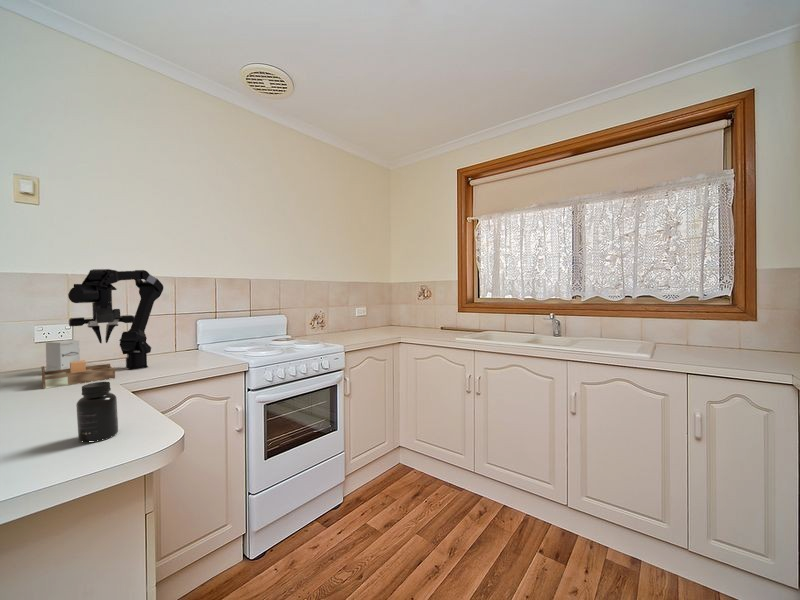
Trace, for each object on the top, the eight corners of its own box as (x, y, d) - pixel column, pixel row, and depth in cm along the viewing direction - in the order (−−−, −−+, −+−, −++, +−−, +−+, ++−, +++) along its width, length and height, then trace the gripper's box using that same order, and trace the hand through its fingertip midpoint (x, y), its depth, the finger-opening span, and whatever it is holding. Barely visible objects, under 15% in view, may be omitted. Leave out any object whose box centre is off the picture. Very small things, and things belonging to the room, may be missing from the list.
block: (84, 370, 131) (84, 360, 131) (86, 372, 128) (85, 361, 128) (70, 372, 128) (69, 361, 128) (71, 374, 125) (70, 363, 125)
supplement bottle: (94, 431, 82) (92, 380, 81) (125, 430, 82) (123, 379, 82) (69, 444, 75) (66, 388, 74) (103, 443, 75) (101, 387, 75)
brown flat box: (110, 373, 139) (109, 358, 139) (115, 378, 132) (114, 362, 132) (42, 383, 125) (41, 366, 125) (43, 388, 118) (42, 371, 118)
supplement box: (60, 374, 138) (59, 342, 138) (46, 373, 140) (44, 342, 140) (80, 370, 146) (79, 340, 145) (66, 369, 147) (65, 339, 147)
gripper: (70, 303, 121) (71, 348, 121) (137, 301, 134) (138, 342, 135) (67, 302, 128) (69, 345, 129) (131, 301, 142) (132, 339, 142)
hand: (103, 343), depth 133 cm, fingers closed
